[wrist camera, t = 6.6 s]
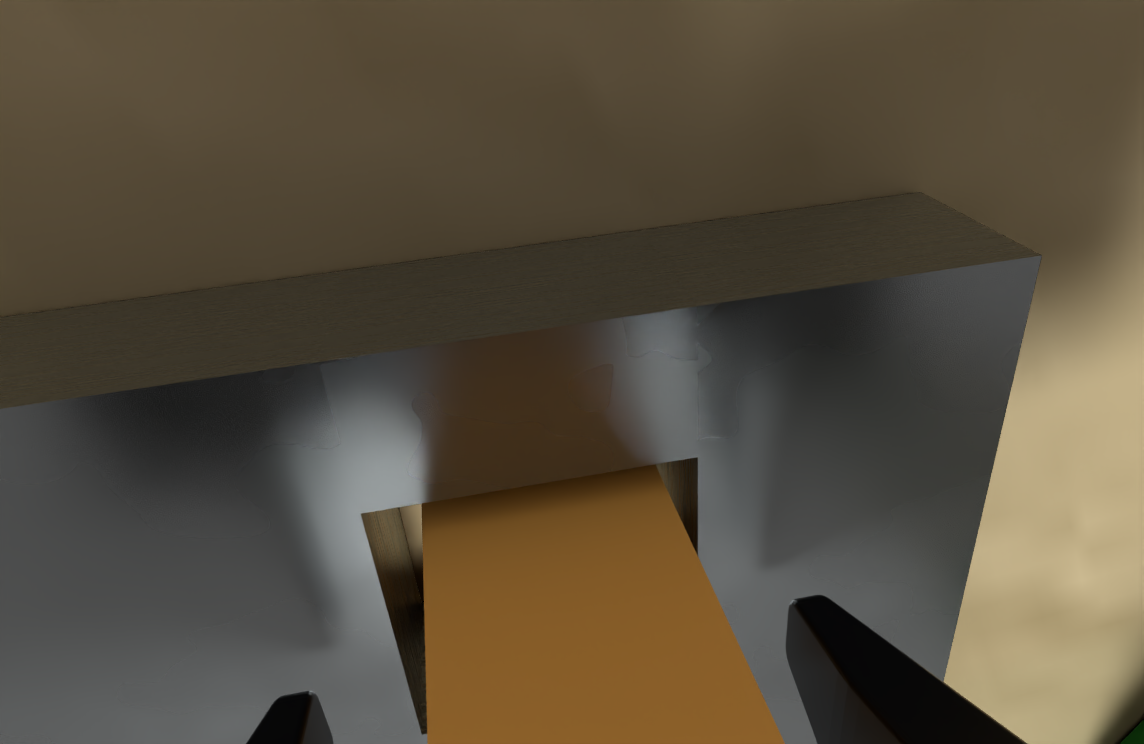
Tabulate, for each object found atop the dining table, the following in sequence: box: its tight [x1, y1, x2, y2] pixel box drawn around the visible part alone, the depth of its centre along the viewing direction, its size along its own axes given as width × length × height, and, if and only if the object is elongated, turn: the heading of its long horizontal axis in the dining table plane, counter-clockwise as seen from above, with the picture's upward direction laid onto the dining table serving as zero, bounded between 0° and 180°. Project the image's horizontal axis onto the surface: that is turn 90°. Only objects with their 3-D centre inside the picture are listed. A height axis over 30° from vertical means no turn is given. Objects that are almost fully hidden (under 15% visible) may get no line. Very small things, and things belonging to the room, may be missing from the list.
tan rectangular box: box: [422, 464, 785, 744], centre depth 9 cm, size 3×3×8 cm
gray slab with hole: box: [0, 192, 1042, 744], centre depth 12 cm, size 14×12×2 cm
